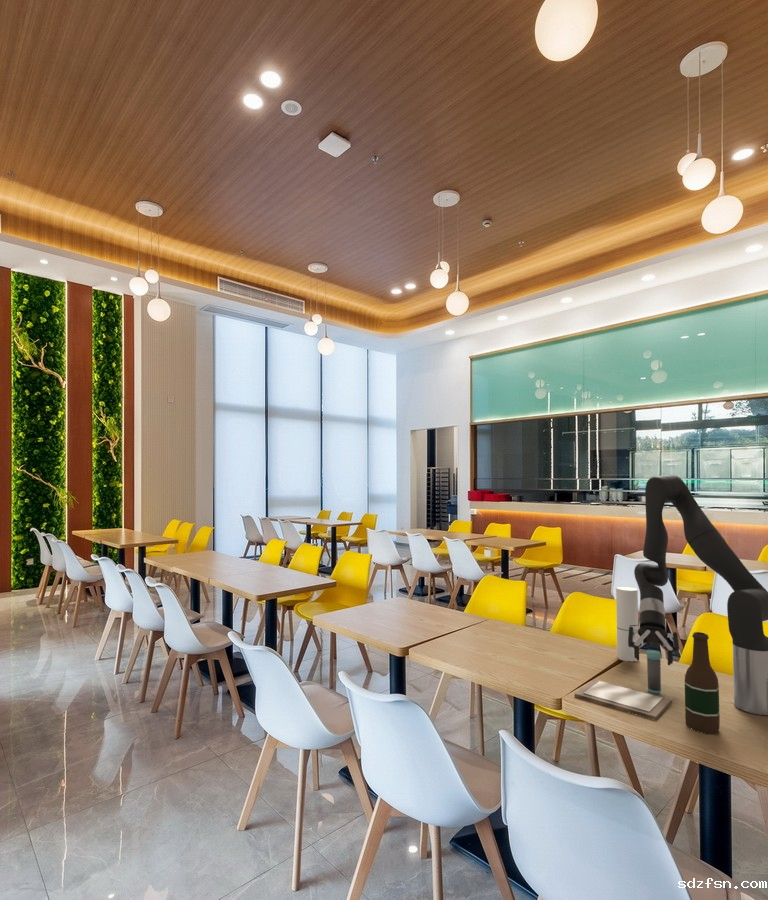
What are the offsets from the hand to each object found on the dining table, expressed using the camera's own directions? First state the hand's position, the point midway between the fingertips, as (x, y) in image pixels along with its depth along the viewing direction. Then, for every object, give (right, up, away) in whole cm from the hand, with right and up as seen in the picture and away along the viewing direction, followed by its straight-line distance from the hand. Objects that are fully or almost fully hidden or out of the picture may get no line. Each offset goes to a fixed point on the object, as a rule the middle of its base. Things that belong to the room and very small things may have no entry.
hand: (653, 661), depth 161 cm
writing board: (-13, -8, -8) cm, 17 cm away
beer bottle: (0, -7, -25) cm, 26 cm away
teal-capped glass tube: (-1, -8, -2) cm, 9 cm away
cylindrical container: (+6, -11, +29) cm, 31 cm away
